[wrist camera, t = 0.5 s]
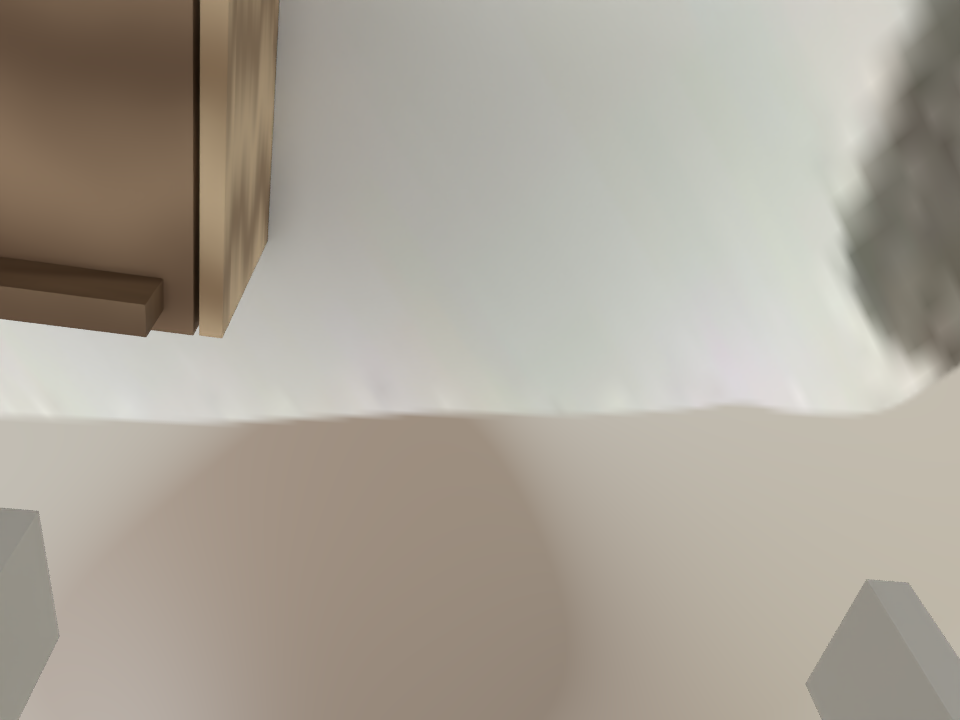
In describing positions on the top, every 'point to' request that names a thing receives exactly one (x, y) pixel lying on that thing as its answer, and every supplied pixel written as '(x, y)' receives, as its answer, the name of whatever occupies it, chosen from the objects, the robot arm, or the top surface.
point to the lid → (100, 164)
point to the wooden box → (234, 149)
